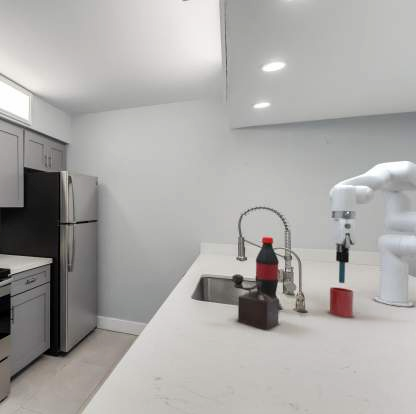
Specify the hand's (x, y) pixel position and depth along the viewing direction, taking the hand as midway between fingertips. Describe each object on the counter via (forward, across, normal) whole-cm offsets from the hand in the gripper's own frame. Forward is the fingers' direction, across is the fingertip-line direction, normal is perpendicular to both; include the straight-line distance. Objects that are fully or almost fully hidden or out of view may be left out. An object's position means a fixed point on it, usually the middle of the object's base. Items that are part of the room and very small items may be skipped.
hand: (342, 261), depth 126 cm
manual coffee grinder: (+22, -27, +34) cm, 49 cm away
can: (+21, 0, 0) cm, 21 cm away
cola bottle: (+22, -4, +27) cm, 35 cm away
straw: (+9, 0, 0) cm, 9 cm away
